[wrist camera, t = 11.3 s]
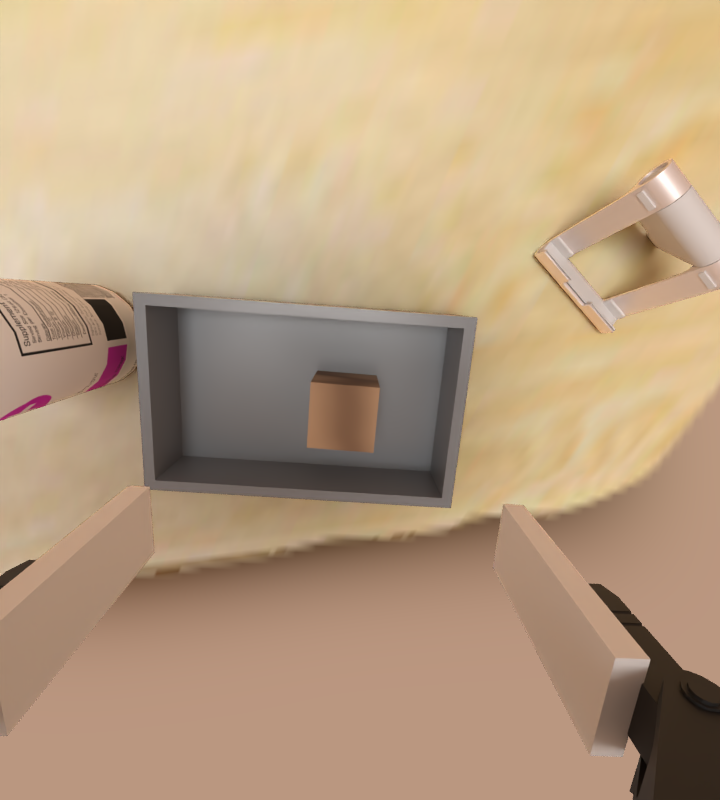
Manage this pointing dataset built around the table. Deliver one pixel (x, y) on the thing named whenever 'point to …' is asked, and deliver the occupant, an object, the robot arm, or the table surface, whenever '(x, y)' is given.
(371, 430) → the walnut cube
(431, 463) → the tote
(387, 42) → the table surface
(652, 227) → the portable electronic device stand
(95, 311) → the supplement can
